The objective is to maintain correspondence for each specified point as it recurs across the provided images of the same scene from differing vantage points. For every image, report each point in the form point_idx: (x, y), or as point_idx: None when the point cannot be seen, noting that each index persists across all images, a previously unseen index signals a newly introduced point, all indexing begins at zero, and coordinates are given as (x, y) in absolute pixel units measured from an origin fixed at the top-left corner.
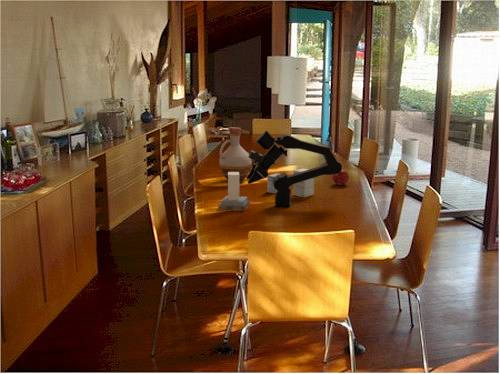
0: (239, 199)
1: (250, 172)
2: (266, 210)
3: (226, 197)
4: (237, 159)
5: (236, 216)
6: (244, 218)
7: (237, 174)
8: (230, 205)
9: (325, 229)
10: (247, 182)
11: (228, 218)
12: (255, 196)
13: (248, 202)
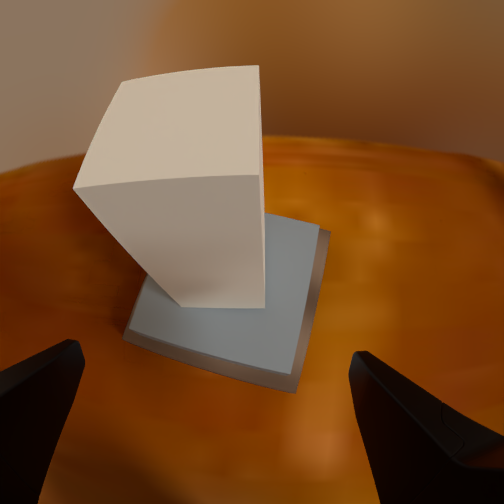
0: (208, 310)
1: (401, 414)
2: (128, 471)
3: (277, 225)
4: None
5: (55, 289)
6: (23, 322)
7: (105, 161)
8: None
9: None
10: (74, 340)
11: (43, 252)
12: None
13: (254, 383)
